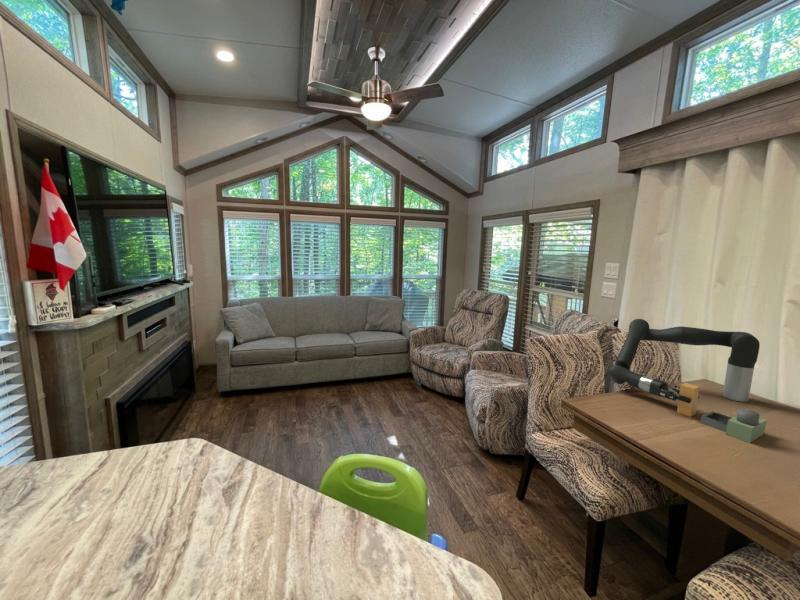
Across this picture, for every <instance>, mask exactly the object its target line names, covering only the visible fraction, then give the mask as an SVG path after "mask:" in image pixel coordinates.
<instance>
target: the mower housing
mask: <svg viewBox="0 0 800 600" xmlns="http://www.w3.org/2000/svg"><path fill="white" fill-rule="evenodd" d="M760 417H761V414H760V413H758V412H756V411H754V410H751V409H745V408H738V409H737V412H736V415H735V416H734V417H731V419H729V420H728V424H727V430H726V432H725V435H727V436H730V437H732V438H735V439H737V440H741V441H744V442H746V443H749V444H750V443H752V442H753V441H755V440H757V439H758V438H760V437H761V436H763V435H765V431H766V427H767V426H766V425H767V419H764V418H762V417H761V418H760Z"/></svg>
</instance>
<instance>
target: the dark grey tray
mask: <svg viewBox="0 0 800 600" xmlns="http://www.w3.org/2000/svg"><path fill="white" fill-rule="evenodd" d="M731 418H732V417H731V416H728V415H725V414H722V413H720V412H717V411H713V410H711V411H709V412H707V413H705V414H703V415H701V416H700V424H703V425H706V426H708V427H711V428H713V427H714V428H713V429H716V428H717V430H719V429H720V430H719V431H722V432H724V431H725V432H724V433H726V430H727V424H728V420H729V419H731ZM717 420H718V421H717ZM720 421H721V422H720Z"/></svg>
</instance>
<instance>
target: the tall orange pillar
mask: <svg viewBox="0 0 800 600" xmlns="http://www.w3.org/2000/svg"><path fill="white" fill-rule="evenodd" d="M679 387H680V393H679V395H680V396H681V395H682V396H685V397H688V398H691V403H687V402H684V401H681V400H677V401H678V402H677V409H676V412H677V413H679V414H681V415H685V416H687V417H693V416H695V415H696V414H697V408H698V407H697V406H698V401H699V399H698V395H699V396H700V388H701V387H700V386H699V385H694V384H691V383H688V382H685V383H682V384H680V386H679Z"/></svg>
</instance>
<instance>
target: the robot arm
mask: <svg viewBox="0 0 800 600" xmlns="http://www.w3.org/2000/svg"><path fill="white" fill-rule="evenodd" d="M647 321H648V320H645V319H643V318H636V319H633V320H631V322H629V326H628V332H627V336H626V338H625V341H624V343H623V345H622V346H621V349H620V351H619V352H618V354H617V357H616V360H615V365H611V366H610V367H608V374H609V377H610V378H611V380H612V381H613V382H614V383H615V384H617V385H623V384H625V383H626V384H627V385H629V386H630V387H632V388H635V389H638V390H641V391H642V392H645V393H647V394H651V395H654V396H657V397H662V398H664V399H668V400H671V401H674V402H676V401H678V400H681V401H684V402H687V403H691V398H688V397H685V396H682V395H681V396H680V395H679V393H680V386H678V385H674V386H669V385H668V383H667V382H666V381H664V380H662V379H658V378H654V377H651V376H647V375H643V374H641V373H640V374H639V373H636V372H634V371H632V370H631V366H632V364H633V362H634V360H635V357H636V355H637V351H638V347H639V345H640V342H641V341H645V342H646V341H648V342H651V341H652V342H663V343H664V342H665V343H672V344H681V345H686V346H687V345H689V346H721V347H728V348H731V350H730V356H729V357H728V359H727V365H726V371H725V372H726V373H725V377H724V382H723V383H724V385H723V389H722V396H723V397H724V398H726V399H729V400H732V401H735V402H742V403H746V402H747V403H748V402H749V399H750V394H751V389H752V388H751V387H752V382H753V376H754V370H755V367H756V366H755V365H756V363H757V362H758V357H759V352H760V346H761V344H760V341H759V339H758V338H757V337H756V336H754V335H753V334H752V333H749V332H746V331H725V330H724V331H721V330H720V331H719V330H713V329H708V328H707V329H706V328H699V327H691V326H674V327H669V328H663V329H660V328H659V329H655V328H650V324H649V323H648V322H647ZM699 399H700V394H699V395H698V400H699Z"/></svg>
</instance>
